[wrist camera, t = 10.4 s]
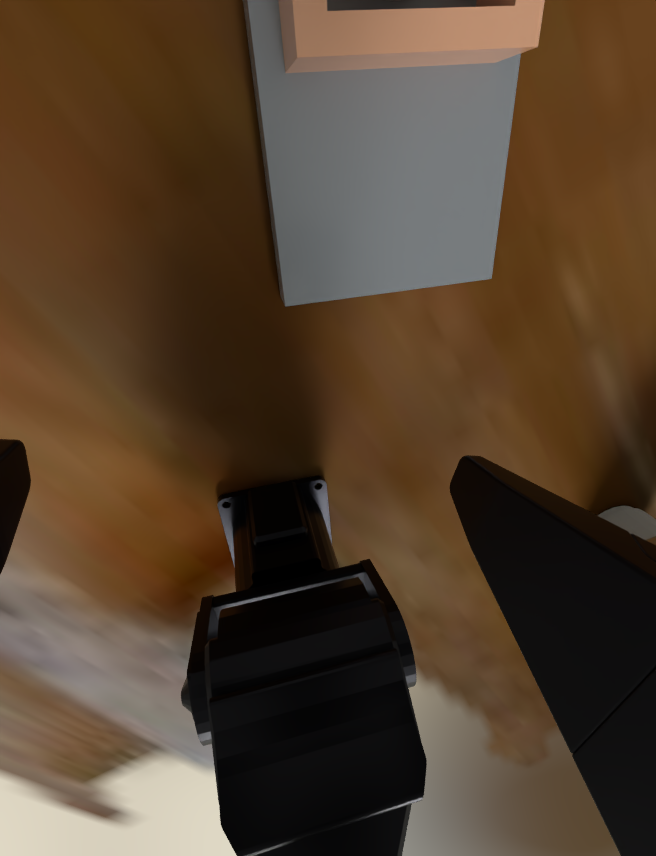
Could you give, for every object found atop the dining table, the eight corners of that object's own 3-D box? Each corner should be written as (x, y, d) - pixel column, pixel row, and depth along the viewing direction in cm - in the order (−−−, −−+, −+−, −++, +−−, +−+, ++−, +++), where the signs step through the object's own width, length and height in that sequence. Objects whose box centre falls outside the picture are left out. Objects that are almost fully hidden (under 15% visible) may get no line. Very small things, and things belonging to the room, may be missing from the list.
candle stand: (475, 272, 22) (522, 291, 18) (280, 297, 20) (294, 323, 17) (534, -266, 13) (642, -412, 10) (205, -292, 12) (202, -477, 8)
